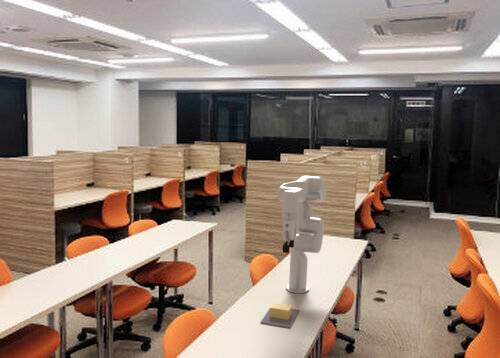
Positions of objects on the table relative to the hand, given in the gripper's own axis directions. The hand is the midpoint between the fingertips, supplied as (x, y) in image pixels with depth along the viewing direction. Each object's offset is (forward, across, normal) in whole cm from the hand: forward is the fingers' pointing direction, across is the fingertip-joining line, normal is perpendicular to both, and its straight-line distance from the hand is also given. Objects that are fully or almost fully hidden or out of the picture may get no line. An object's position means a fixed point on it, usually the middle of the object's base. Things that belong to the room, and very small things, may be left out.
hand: (288, 249), depth 222 cm
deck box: (+30, -10, 0) cm, 31 cm away
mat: (+30, -10, 0) cm, 32 cm away
